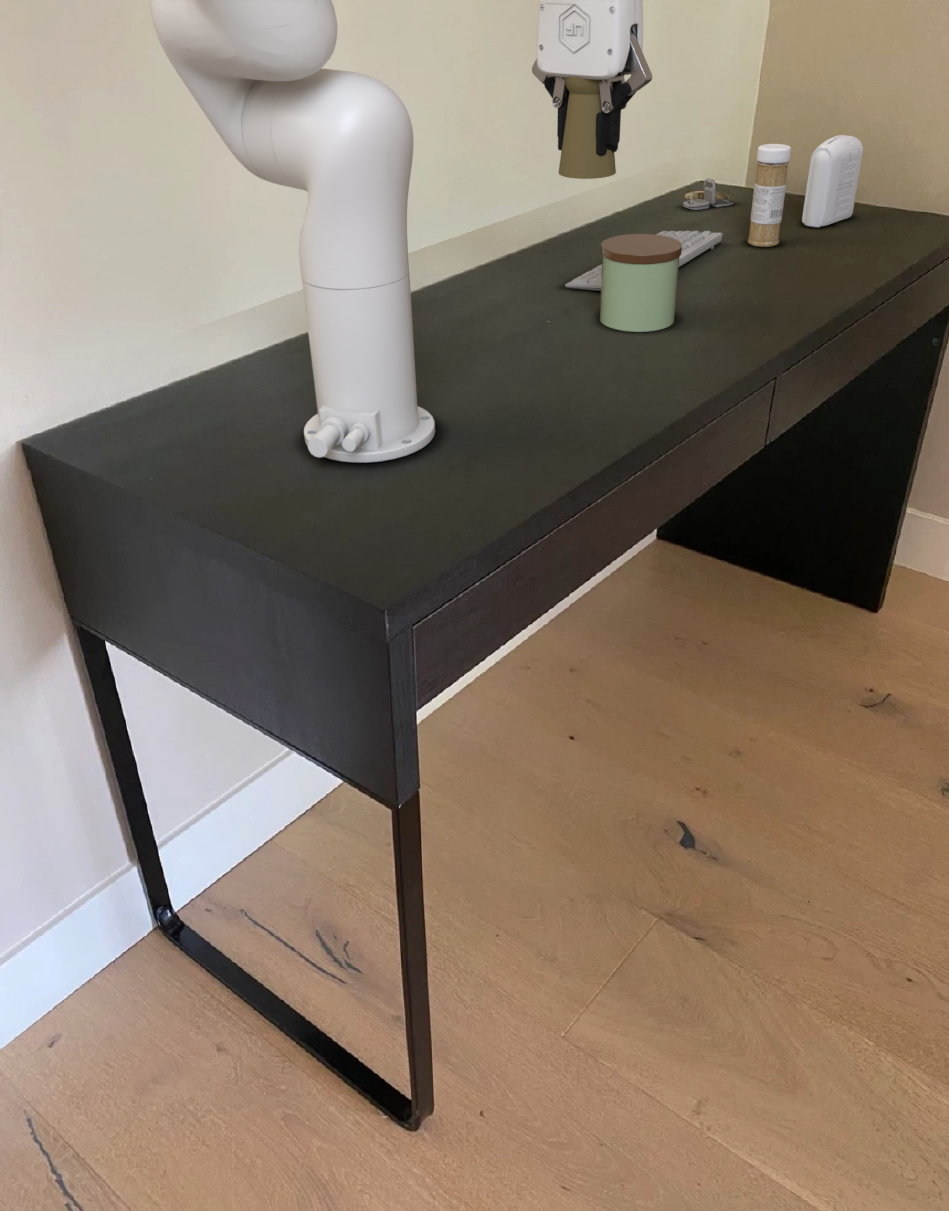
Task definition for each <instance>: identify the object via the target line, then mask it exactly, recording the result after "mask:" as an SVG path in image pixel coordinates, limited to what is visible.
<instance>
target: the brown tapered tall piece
mask: <svg viewBox="0 0 949 1211" xmlns="http://www.w3.org/2000/svg"><path fill="white" fill-rule="evenodd" d="M564 80H565V84H566V87H567V89H568V90H569V99H568V107H567V114H566V122H565V130H564V137H563V144H562V151H561V150H560V151H561V152H560V159H559V166H558V175H559V176H561V177H564V178H569V179H578V180H593V179H594V180H595V179H604V178H609V177H612V176H614V175H615V174H616V173H617V168H616V155H615V152H613V153H612V151H611V150H608V149H607V153H606V155H603V156H600V155H597V154H596V116H597V113H599V112H602V107H601V98H600V89H599V83H600V80H595V79H582V78H579V77H564ZM613 84H614V83H612V86H613Z"/></svg>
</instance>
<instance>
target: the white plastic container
mask: <svg viewBox="0 0 949 1211" xmlns="http://www.w3.org/2000/svg"><path fill="white" fill-rule="evenodd" d="M863 153H864V147H863V143H862V141H861V140H860V139H859V138H858V137H855V136H853V135H846V134H839V135H834V136H833V137H830V138H828V139H826V140H825V141H822V142H821V143H820V144H819V145H818V146H817V147H816V148H815V149H814V150H813V153H812V154H811V156H810V162H809V169H808V174H807V175H808V176H807V183H806V188H805V189H806V190H805V195H804V202H803V210H802V216H801V222H802V224H803V225H804V226H806V227H811V228H821V227H826V226H829V225H831V224H835V223H838V222H841V221H844V220H846V219H849V218H851V217H852V215H853V213H854V210H855V209H854V207H855V203H856V202H855V201H856V196H857V192H858V184H859V178H860V173H861V166H862V161H863V155H864V154H863Z"/></svg>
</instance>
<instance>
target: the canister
mask: <svg viewBox="0 0 949 1211" xmlns="http://www.w3.org/2000/svg"><path fill="white" fill-rule="evenodd" d="M681 253H682V243H681V242H680V241H678V240H676V239H674V238H671V237H667V236H662V235H656V234H652V233H628V234H627V233H626V234H619V235H615V236H612V237H608V238H606V239H605V240H603V241H602V242H601V243H600V254H601V257H602V258H601V264H602V279H601V291H600V307H599V309H600V310H599V321H600V323H601V324H602V325H603V326H605V327H608V328H610V329H613V330H618V331H622V332H630V333H646V332H647V333H649V332H656V331H660V330H664V329H667V328H669V327H671V326H672V325H673V324H674V322H675V316H676V305H677V304H676V303H677V291H678V280H679V269H680V267H679V257H680V255H681Z"/></svg>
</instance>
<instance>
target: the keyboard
mask: <svg viewBox="0 0 949 1211" xmlns="http://www.w3.org/2000/svg"><path fill="white" fill-rule="evenodd" d="M655 235H662V236H667V237H671V238H674V239H676V240H678V241H680V242H681V243H682V253H681V255H680V257H679V268H680V267H682V266H683V265H684V264H686V263H688V262H690V261H691V260H693V259H694V258H696V257H697V256H699V255H701V254H703V253H704V252H706V251H708V250H709V249H710V250H713V249H714V248H715V245H717V244H719V243H720V242H722V240H723V233H722V232H711V230H704V231H702V232H700V231H699V230H692V231H691V230H677V231H676V230H669V231H668V230H661V231H660V232H658V233H655ZM601 279H602V263H601V264H599V265H597V266H595V267H594V268H592V269H591V270H587V271H586V272H584V273H582V274H581V275H579V276H577V277H575V278H572V280H571V281H569V282H567V283H565V285H564V287H565V288H566V289H576V290H588V291H600V292H601Z"/></svg>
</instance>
